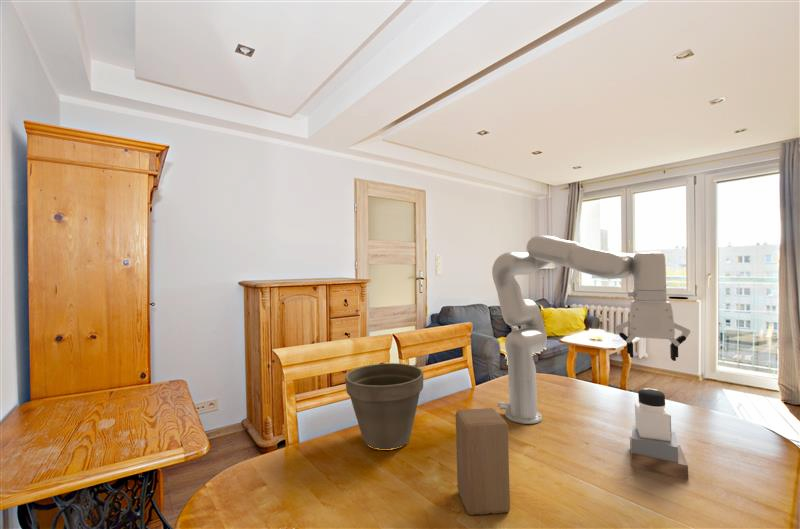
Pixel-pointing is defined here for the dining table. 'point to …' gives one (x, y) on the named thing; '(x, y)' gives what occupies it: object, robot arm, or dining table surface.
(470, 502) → the wooden block
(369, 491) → the dining table surface
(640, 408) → the medicine bottle
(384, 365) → the plant pot
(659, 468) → the tower base
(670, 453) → the tower top
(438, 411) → the dining table surface
